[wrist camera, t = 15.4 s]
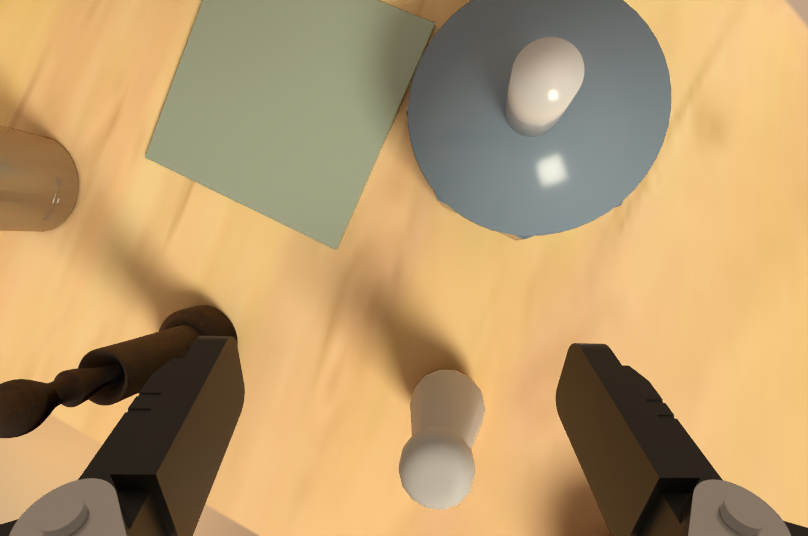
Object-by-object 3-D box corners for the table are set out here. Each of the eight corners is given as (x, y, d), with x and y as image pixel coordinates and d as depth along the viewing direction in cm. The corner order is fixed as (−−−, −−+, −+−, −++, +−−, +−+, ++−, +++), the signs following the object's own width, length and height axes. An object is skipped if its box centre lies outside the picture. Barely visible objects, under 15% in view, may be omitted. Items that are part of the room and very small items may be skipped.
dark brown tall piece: (161, 343, 40) (-86, 420, 23) (199, 290, 39) (-28, 328, 22) (212, 389, 40) (-1, 506, 22) (252, 337, 39) (62, 415, 21)
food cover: (388, 187, 36) (343, 158, 24) (473, -4, 34) (471, -139, 22) (572, 271, 34) (624, 285, 22) (674, 73, 32) (793, -30, 20)
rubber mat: (148, 158, 40) (144, 157, 39) (227, -57, 37) (224, -60, 37) (337, 249, 37) (335, 249, 37) (435, 25, 35) (434, 22, 34)
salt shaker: (404, 408, 37) (364, 495, 24) (432, 349, 36) (408, 407, 23) (466, 441, 36) (459, 550, 23) (496, 382, 35) (507, 461, 22)
